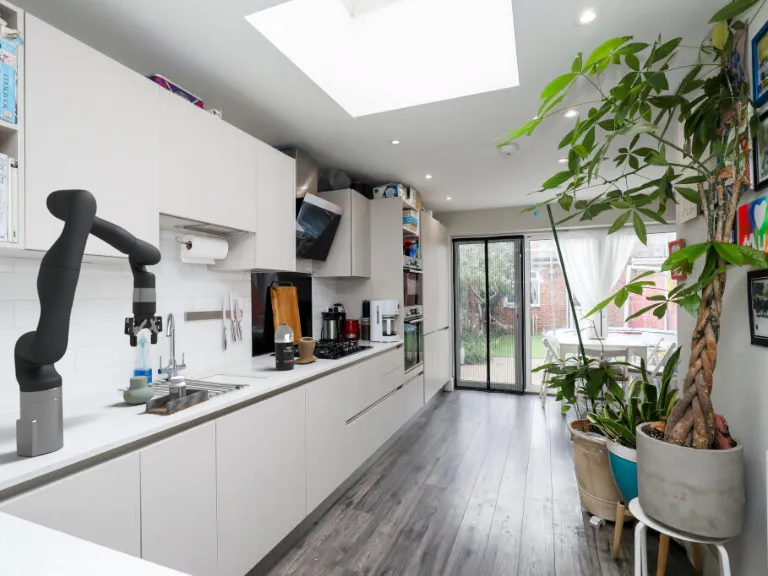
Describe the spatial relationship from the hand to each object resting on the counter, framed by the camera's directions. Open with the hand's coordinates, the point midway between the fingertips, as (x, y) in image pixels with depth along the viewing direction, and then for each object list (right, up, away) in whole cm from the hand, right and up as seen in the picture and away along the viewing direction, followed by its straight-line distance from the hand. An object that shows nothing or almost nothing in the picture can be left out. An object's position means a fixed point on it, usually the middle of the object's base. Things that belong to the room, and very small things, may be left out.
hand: (144, 345), depth 151 cm
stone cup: (+42, -24, +95) cm, 107 cm away
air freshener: (-10, -25, +13) cm, 30 cm away
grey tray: (+9, -24, +7) cm, 27 cm away
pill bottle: (+9, -23, +7) cm, 26 cm away
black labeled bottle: (+33, -24, +76) cm, 86 cm away
